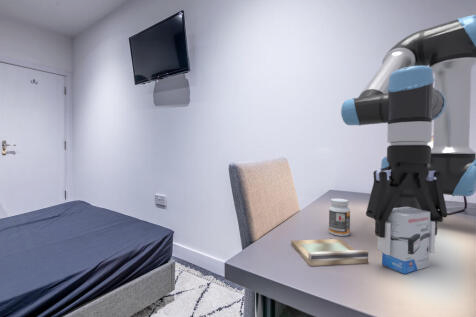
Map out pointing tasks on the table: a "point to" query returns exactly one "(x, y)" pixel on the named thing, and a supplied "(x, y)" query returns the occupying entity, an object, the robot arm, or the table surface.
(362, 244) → the table surface
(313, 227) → the table surface
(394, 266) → the ink box
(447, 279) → the table surface
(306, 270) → the table surface
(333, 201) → the pill bottle
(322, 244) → the tan flat block
